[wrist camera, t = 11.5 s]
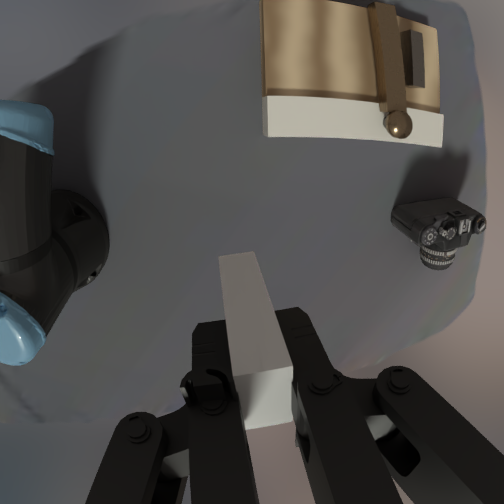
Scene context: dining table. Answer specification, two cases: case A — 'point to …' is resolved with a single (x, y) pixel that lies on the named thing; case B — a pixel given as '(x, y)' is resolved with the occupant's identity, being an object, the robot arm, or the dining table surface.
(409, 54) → the bar
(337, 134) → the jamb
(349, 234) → the dining table surface
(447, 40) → the dining table surface
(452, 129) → the dining table surface
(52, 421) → the dining table surface
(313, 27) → the door slab
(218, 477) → the robot arm
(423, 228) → the camera
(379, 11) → the swing bar
